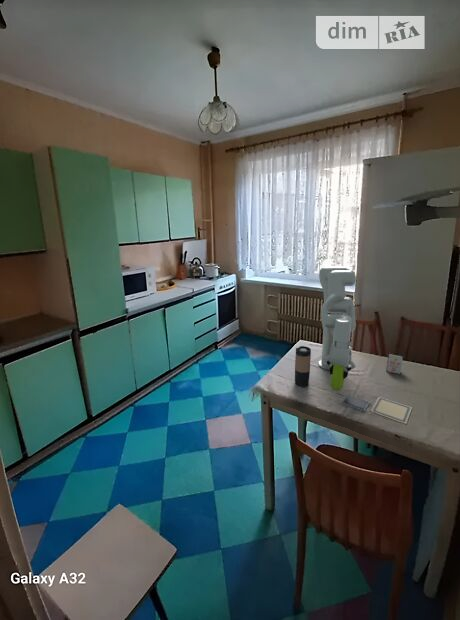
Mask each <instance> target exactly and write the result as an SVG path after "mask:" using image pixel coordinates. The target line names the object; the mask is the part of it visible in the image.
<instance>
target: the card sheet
mask: <svg viewBox="0 0 460 620" xmlns="http://www.w3.org/2000/svg"><path fill="white" fill-rule="evenodd" d="M412 410H413V407H412V406H409V405H406V404H404V403H403V404H402V403H400V402H398V401H393V400H390V399H388V398H385V397H382V396H378V397H377V399H376V401H375V402H374V404H373V406H372V408H371V409H370V412H371V413H373V414H376V415H379V416H382V417H384V418H387V419H390V420H393V421H395V422H399V423H401V424H404V425H407V423H408V420H409V418H410V416H411V412H412Z"/></svg>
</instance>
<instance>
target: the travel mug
mask: <svg viewBox="0 0 460 620" xmlns="http://www.w3.org/2000/svg"><path fill="white" fill-rule="evenodd" d="M311 357H312V349H311V348H310V347H308V346H305V345H304V346H302V345H300V346H298V347H296V348H295V359H294V384H295V386H297V387H300V388H306V387H308V386H309V384H310V373H311Z"/></svg>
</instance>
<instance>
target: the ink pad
mask: <svg viewBox="0 0 460 620" xmlns="http://www.w3.org/2000/svg"><path fill="white" fill-rule="evenodd" d="M370 404H371V403H370V401H368V400H365V399H364V398H363V399H362V398H360V397H356V396H354V395H352V394H347V395H346V396H345V398H344V399H343V400H342V402H341V405H344V406H347V407H350V408H352V409H355V410H357V411H361V412H363V413H365V412H366V410H367V409H368V407H369V405H370Z"/></svg>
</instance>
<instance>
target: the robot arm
mask: <svg viewBox="0 0 460 620" xmlns="http://www.w3.org/2000/svg"><path fill="white" fill-rule="evenodd" d="M318 277H319V283H320V286H321V288H322V291H323V304H322V305H321V310H320V313H321V314H320V315H321V318H320V319H321V325H322V349H321V359H320V360H319V361H318V366H319V367H320V368H322V369H323V370H326V371H327V370H328V371H329V375H331V376H332V372H333V365H334V364H337V365H340V366H344V370H345V371H344V375H343V378H344V380H345V379H346V378H348V376H349V372H350V371H351V370H353V369H355V368H356V365H355V363H354V362H353V360H352V357H353V355H352V346H353V343H351V332H353V331H355V328H356V326H357V325H356V314H355V303H354V300H353V298H351V297H349V296H347V294H346V287H353V286H355V284H356V282H357V281H356V280H357V278H356V277H357V276H356V273H355V271H354V270H353V269H352V267H350V266H348V265H347V266H346V265H342V266H337V265H335V266H332V265H331V266H330V265H329V266H324V267H321V268H320V270H319V271H318ZM346 356H347V357H346ZM349 365H350V366H349Z"/></svg>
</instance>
